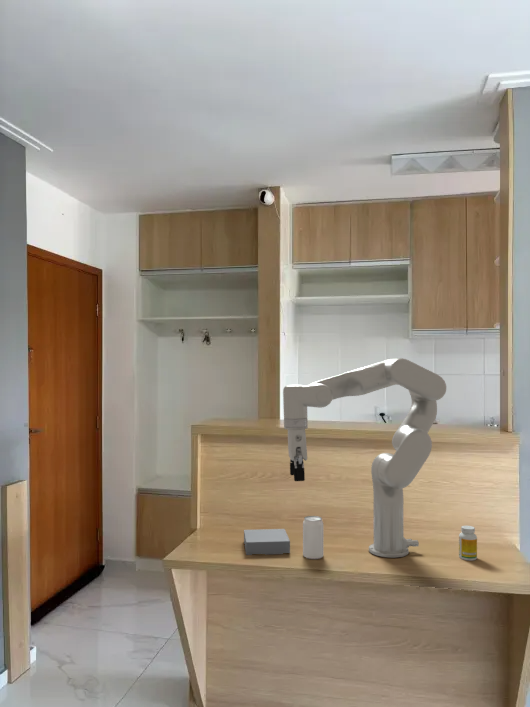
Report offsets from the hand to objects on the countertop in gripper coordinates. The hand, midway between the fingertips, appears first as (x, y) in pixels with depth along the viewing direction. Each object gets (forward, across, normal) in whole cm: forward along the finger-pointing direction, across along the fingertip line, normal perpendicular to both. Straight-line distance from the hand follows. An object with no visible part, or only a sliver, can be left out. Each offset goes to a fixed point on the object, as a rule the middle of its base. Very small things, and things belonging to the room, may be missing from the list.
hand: (297, 477), depth 183 cm
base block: (+24, +9, +10) cm, 28 cm away
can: (+25, 0, -4) cm, 25 cm away
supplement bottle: (+26, -6, -52) cm, 59 cm away
